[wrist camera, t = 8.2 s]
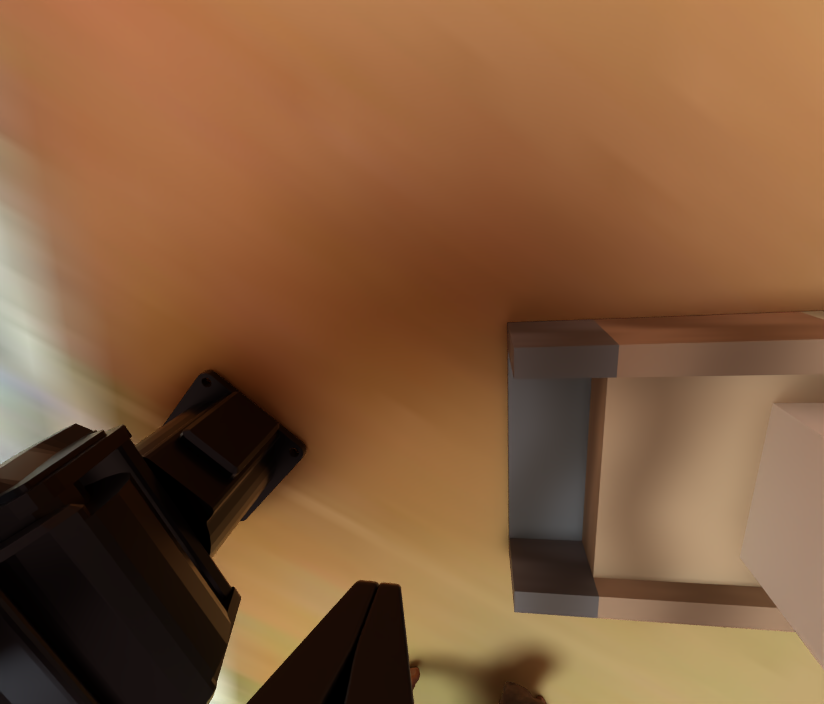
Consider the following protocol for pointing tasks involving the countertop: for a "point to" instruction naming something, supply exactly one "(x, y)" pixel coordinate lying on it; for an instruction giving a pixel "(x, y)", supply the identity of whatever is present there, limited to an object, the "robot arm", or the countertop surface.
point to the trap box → (647, 461)
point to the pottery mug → (514, 697)
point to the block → (791, 520)
